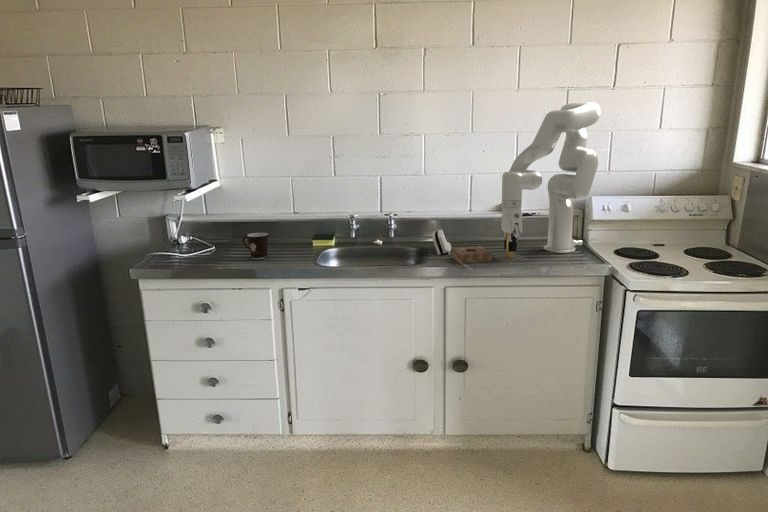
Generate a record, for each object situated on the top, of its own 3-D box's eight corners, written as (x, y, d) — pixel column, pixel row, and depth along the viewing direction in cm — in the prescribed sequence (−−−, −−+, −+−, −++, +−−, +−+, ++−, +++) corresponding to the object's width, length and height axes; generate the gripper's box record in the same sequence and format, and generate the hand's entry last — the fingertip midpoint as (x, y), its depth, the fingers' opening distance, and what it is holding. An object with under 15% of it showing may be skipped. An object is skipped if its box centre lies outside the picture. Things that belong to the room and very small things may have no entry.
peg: (512, 256, 225) (512, 232, 223) (515, 258, 223) (515, 233, 220) (504, 257, 225) (505, 232, 223) (508, 258, 222) (508, 233, 220)
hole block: (480, 255, 231) (480, 246, 230) (491, 262, 219) (491, 252, 218) (452, 257, 228) (452, 248, 227) (461, 264, 217) (461, 254, 216)
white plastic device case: (450, 255, 233) (441, 232, 232) (439, 258, 235) (431, 236, 233) (451, 246, 250) (443, 225, 248) (441, 249, 251) (433, 229, 249)
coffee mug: (273, 258, 236) (271, 234, 234) (254, 261, 231) (252, 237, 228) (260, 253, 245) (259, 231, 242) (242, 256, 239) (240, 233, 237)
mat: (517, 255, 230) (517, 253, 230) (529, 261, 220) (529, 259, 219) (491, 257, 228) (491, 255, 228) (502, 263, 218) (502, 262, 217)
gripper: (530, 206, 212) (528, 254, 216) (511, 200, 227) (510, 245, 232) (511, 207, 210) (509, 255, 214) (494, 201, 226) (493, 246, 230)
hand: (510, 249), depth 223 cm, fingers open, 3 cm apart
